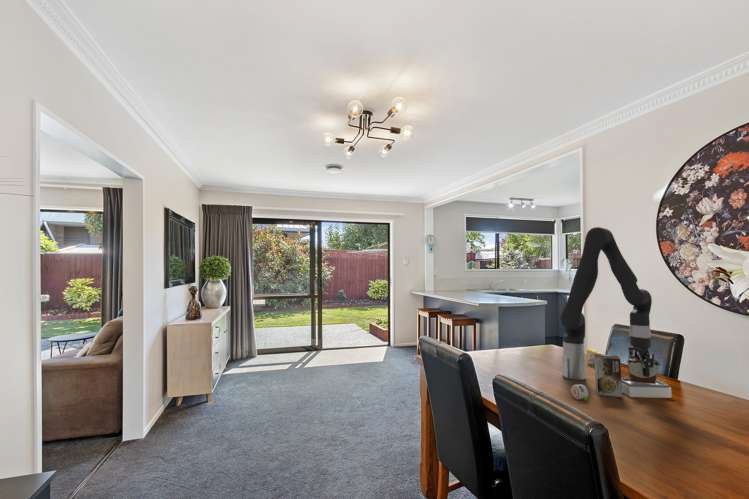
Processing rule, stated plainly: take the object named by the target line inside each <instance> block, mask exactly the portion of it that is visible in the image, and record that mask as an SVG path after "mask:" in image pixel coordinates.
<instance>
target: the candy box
mask: <svg viewBox="0 0 749 499" xmlns="http://www.w3.org/2000/svg"><path fill="white" fill-rule="evenodd" d="M594 354H603V355H607V354H605V353H602V352H600V351H599V352H598V351H597V350H593V349H590V348H587V349H586V357H587V358H586V359H587V360H586V361H587V362H586V363H587V364H588V365H590V366H593V367H595V356H594Z"/></svg>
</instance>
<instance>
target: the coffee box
mask: <svg viewBox="0 0 749 499" xmlns="http://www.w3.org/2000/svg"><path fill="white" fill-rule="evenodd" d="M603 354H604V353H603ZM603 354H594V356H595V366H594V371H595V372H594V374H595V391H596V394H597V395H598V396H605V397H617V398H623V393H622V382H621V378H622V369H621V368H622V367H621V366H622V365H621V358H620V356H618V355H615V354H606V355H603Z"/></svg>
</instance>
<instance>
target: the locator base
mask: <svg viewBox="0 0 749 499" xmlns="http://www.w3.org/2000/svg"><path fill="white" fill-rule="evenodd" d="M621 382H622V394H624V395H626V396H627V397H629V398H650V399H651V398H652V399H653V398H654V399H655V398H660V399H662V398H663V399H672V387H670V385H669V384H667V383H665V382H663V381H661V380H658V379H656V384H648V383H638V382H630V380H629V377H621Z"/></svg>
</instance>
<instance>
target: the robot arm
mask: <svg viewBox="0 0 749 499" xmlns="http://www.w3.org/2000/svg"><path fill="white" fill-rule="evenodd" d="M619 248H620V247H619V245H618V243H617V242H616V239H615V236H614V234H613V233H612V231H611V230H609V229H607V228H605V227H599V226H595V227H592V228H590V229H589V230H588V231H587V233H586V235H585V239H584V244H583V249H582V254H581V257H580V260H579V263H578V267H577V269H576V270H575V274H574V278H573V280H572V284H571V287H570V291H569V295H568V298H567V301H566V304H565V306H564V308H563V309H562V313H561V314H560V323H561V325H562V327H563V328H564V333H563V336H562V347H563V348H562V350H563V351H562V352H563V354H562V356H561V373H562V374H561V375H562V376H563V377H564V378H566V379H569V380H577V381H583V380H585V379H586V365H585V359H586V358H585V337H586V318H585V317H586V316H585V315H584V313H583V309H584V306H585V303H586V301H587V300H588V299H589V297H590V296H591V294H592V292H593V291H594V288H595V285H596V282H597V279H598V276H599V258H600V253H601V251H602V253H603V254H604V255H605V256H606V258H607V261H608V264H609V267H610V269H611V272H612V274H613V275H614V277H615V279H616V281H617V282H618V284H619V285H620V288H621V291H622V294H623V296H624V298H625V300H626V302H628V303H629V304H630V305H631V306H632V311H631V312H630V313H629V345H630V346H628V348H627V349H628V357H629V356H633V358H639V359H640V362H641V363H642V365H643V376H644V377H649V376H650V374H649V368H653V366H654V359H655V354H654V353H650V352H649V348H651V347H652V336H651V335H652V334H651V333H652V332H651V326H650V324H651V323H650V321H651V320H650V313H651V309H652V302H653V301H652V299H653V298H652V295H651V293H650V292H649V291H648V290H646V289H643V288H639V286H638V278H637V276H636V274H635V273H634V272H633V270H632V268H631V267H630V265H629V264H628V263H627V261H626V259H625V258H624V256H623V255H622V253H621V252H622V251H621V250H620V249H619ZM635 356H636V357H635ZM645 362H646V365H645ZM649 362H651V364H650V363H649Z"/></svg>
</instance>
